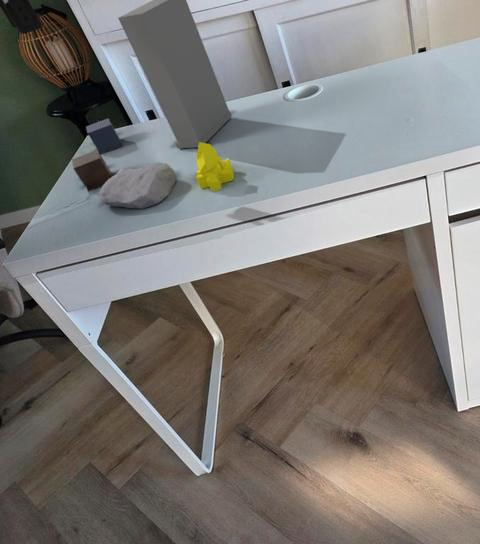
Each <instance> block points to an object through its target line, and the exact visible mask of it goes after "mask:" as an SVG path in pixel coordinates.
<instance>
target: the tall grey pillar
mask: <svg viewBox="0 0 480 544" xmlns="http://www.w3.org/2000/svg"><path fill="white" fill-rule="evenodd" d="M118 21H119V23H120V25H121V27H122V29H123V31H124V33H125V36H126V37H127V40H128V41H129V44H130V45H131V48H132V50H133V52H134V55H135V56H136V58H137V61H138V62H139V64H140V66H141V69H142V71H143V73H144V75H145V77H146V79H147V82H148V84H149V85H150V87H151V91H152V92H153V94H154V97H155V98H156V100H157V102H158V104H159V106H160V108H161V110H162V113H163V114H164V117H165V119H166V121H167V123H168V126H169V127H170V129H171V131H172V133H173V135H174V138H175V140H176V142H175V146H176V148H177V149H180V150H183V149H191V148H198V146H199V142H201V143H206V144H207V142H208V141H209V140H210V139H212V137H213V136H214V135H215V134H216V133H217V132H218V131H219V130H220V129H221V128H222V127H223V126H224V125H225V124H226V123H227V122H228V121H230V120H231V118H232V117H233V115H232V113H231V111H230V110H229V107H228V104H227V101H226V100H225V97H224V94H223V92H222V89H221V86H220V84H219V81H218V78H217V76H216V74H215V71H214V68H213V66H212V63H211V60H210V58H209V56H208V53H207V51H206V47H205V45H204V41H203V40H202V38H201V35H200V31H199V30H198V27H197V25H196V21H195V19H194V16H193V14H192V12H191V9H190V6H189V4H188V1H187V0H150V1H148V2H146V3H144V4H142V5H141V6H138V7H136V8H135V9H133V10H130V11H129V12H127V13H125V14H122V15H121V16H119V17H118Z"/></svg>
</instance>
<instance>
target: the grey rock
mask: <svg viewBox="0 0 480 544" xmlns="http://www.w3.org/2000/svg"><path fill="white" fill-rule="evenodd" d="M177 180H178V179H177V175H176V173H175V170H174V168H173V167H171V166H170V165H169V164H168V163H166V162H160V161H156V162H152V163H146V165H144V166H142V167H140V168H129V167H123V168H120V169H119V170H118V172H117V173H116V174H115V175H112V177H111V178H110V179H108V181H107V182H105V184H104V185H102V186H101V189H100V191H99V192H98V195H99V199H100V202H101V203H102V204H104V205H106V206H109V207H118V208H126V209H140V210H142V209H147V208H149V207H152V206H156V205H157V204H159V203H161V202H162V201H163V200H164V199H166V198H167V197H168V196H169V195H170V193H171V191H172V189H173V188H174V186H175V183H176V182H177Z"/></svg>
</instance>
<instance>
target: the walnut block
mask: <svg viewBox="0 0 480 544" xmlns="http://www.w3.org/2000/svg"><path fill="white" fill-rule="evenodd" d="M71 162H72V168H73V171H74V172H75V174H76V175H77V177H78V178H79V180H80V181H81V182H82V184H83V186H84V187H85V188H86V190H87V191H88V192H90V191H92V190H95V189H97V188H99V187H102V186H103V185H104V184H105V182H107V181H108V179H110V178H111V177H113V174H112V171H111V169H110V168H109V166H108V164H107V163H106V161H105V158H103V156H102V154H100V153H99V151H98V150H97V149H95V150H93V151H90V152H88V153H85V154H83V155H80V156H77V157H75V158H72V159H71Z"/></svg>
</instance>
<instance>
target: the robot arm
mask: <svg viewBox="0 0 480 544" xmlns="http://www.w3.org/2000/svg"><path fill="white" fill-rule="evenodd" d="M0 9H1V11H2V12H3V14H4V16H5V17H6V19H7V21H8V23H9V25H10V26H11V27H13V28H15V29H17V30H18V32H19V33H20V34H22V35H26V34H28V33H32V32H34V31H37V30H40V29H41V30H42V29H43V27H44V25H43V24H42V21H41V20H40V18H39V16H38V15H37V13H36V10H35V9H34V8H33V6H32V3H30V0H0Z"/></svg>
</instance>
